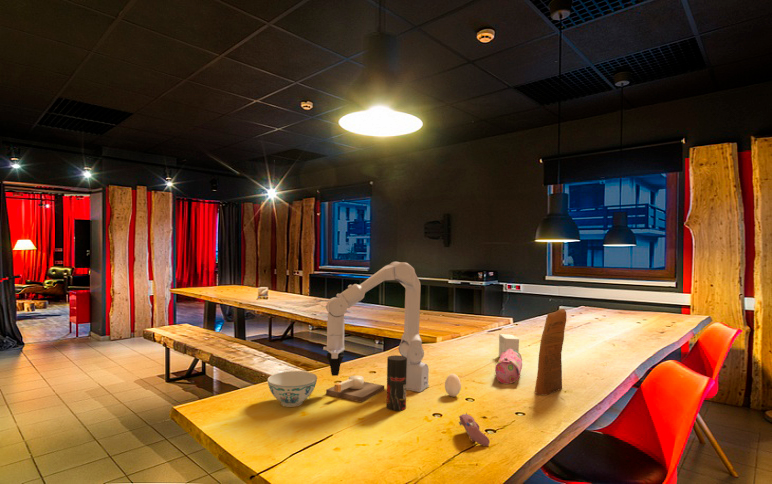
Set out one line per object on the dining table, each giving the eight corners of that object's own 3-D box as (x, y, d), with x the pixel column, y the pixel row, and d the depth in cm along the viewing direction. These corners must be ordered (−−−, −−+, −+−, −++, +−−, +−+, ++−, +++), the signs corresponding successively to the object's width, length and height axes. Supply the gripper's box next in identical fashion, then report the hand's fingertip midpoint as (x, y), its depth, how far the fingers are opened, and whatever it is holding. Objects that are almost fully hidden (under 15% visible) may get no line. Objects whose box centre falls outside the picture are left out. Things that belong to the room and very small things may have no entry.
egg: (443, 397, 141) (443, 374, 141) (446, 392, 146) (446, 370, 146) (459, 399, 139) (459, 376, 139) (462, 394, 144) (462, 372, 144)
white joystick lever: (354, 383, 148) (354, 374, 148) (366, 386, 145) (366, 377, 145) (330, 393, 137) (330, 383, 137) (342, 396, 135) (342, 386, 135)
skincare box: (519, 363, 186) (519, 338, 186) (504, 362, 186) (504, 338, 187) (512, 357, 197) (512, 333, 197) (498, 356, 197) (498, 333, 197)
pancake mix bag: (572, 387, 154) (573, 308, 154) (546, 399, 141) (547, 313, 141) (554, 382, 159) (555, 306, 159) (527, 393, 146) (528, 311, 146)
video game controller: (464, 436, 115) (453, 412, 115) (479, 428, 116) (468, 405, 115) (475, 453, 105) (463, 428, 105) (492, 445, 106) (479, 419, 106)
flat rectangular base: (384, 390, 147) (384, 385, 147) (362, 402, 135) (362, 397, 135) (350, 383, 154) (350, 378, 154) (326, 394, 142) (326, 389, 142)
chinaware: (325, 398, 138) (325, 374, 138) (301, 415, 124) (301, 388, 124) (284, 392, 143) (284, 369, 143) (256, 407, 128) (257, 381, 129)
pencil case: (519, 386, 154) (519, 361, 154) (493, 383, 157) (493, 358, 157) (523, 371, 174) (523, 348, 174) (500, 368, 177) (500, 346, 177)
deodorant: (404, 411, 128) (405, 360, 128) (384, 409, 129) (385, 359, 129) (407, 404, 133) (408, 356, 134) (388, 403, 135) (389, 354, 135)
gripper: (324, 329, 150) (324, 369, 150) (322, 338, 136) (321, 381, 136) (345, 329, 151) (344, 368, 151) (344, 338, 136) (343, 381, 136)
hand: (335, 375), depth 143 cm, fingers closed
